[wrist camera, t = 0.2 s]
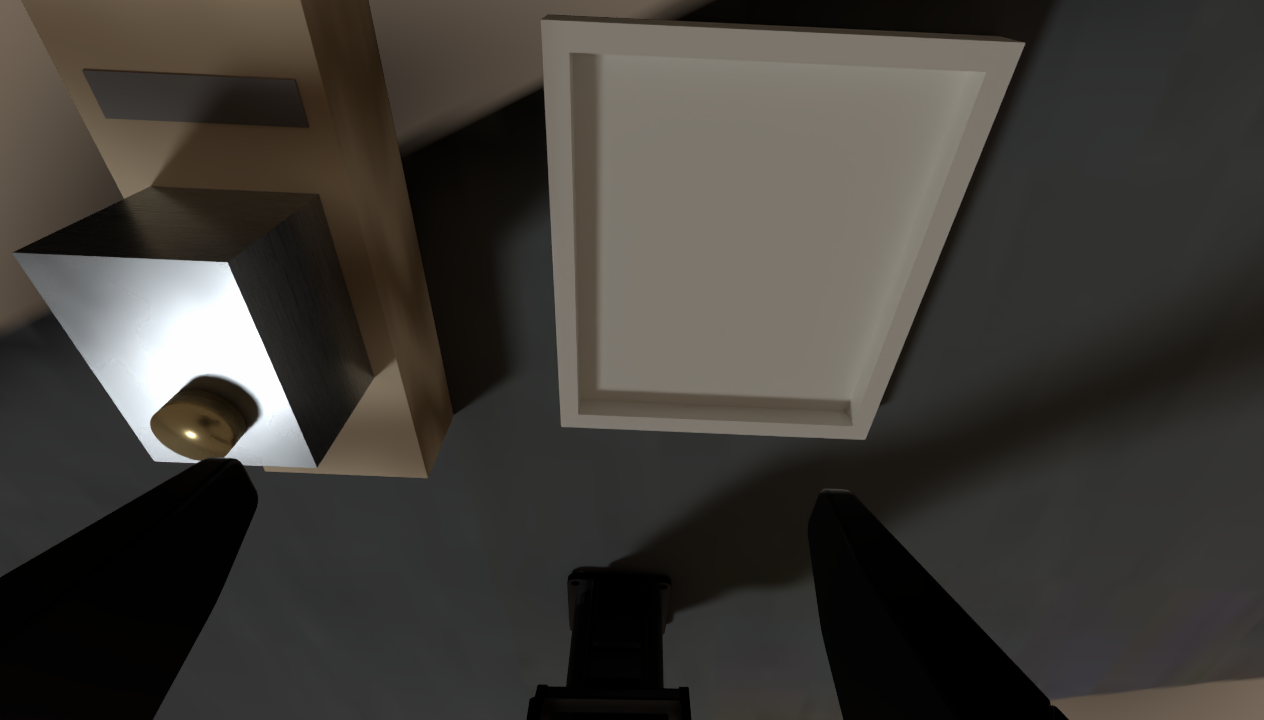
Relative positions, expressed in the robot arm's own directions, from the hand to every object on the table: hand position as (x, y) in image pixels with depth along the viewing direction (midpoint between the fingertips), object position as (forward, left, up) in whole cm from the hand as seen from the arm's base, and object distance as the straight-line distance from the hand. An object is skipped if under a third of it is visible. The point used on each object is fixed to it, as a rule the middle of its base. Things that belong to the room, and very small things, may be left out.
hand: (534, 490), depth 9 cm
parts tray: (-3, -5, -14) cm, 16 cm away
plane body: (-3, +11, -14) cm, 18 cm away
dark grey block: (-3, +11, -10) cm, 15 cm away
